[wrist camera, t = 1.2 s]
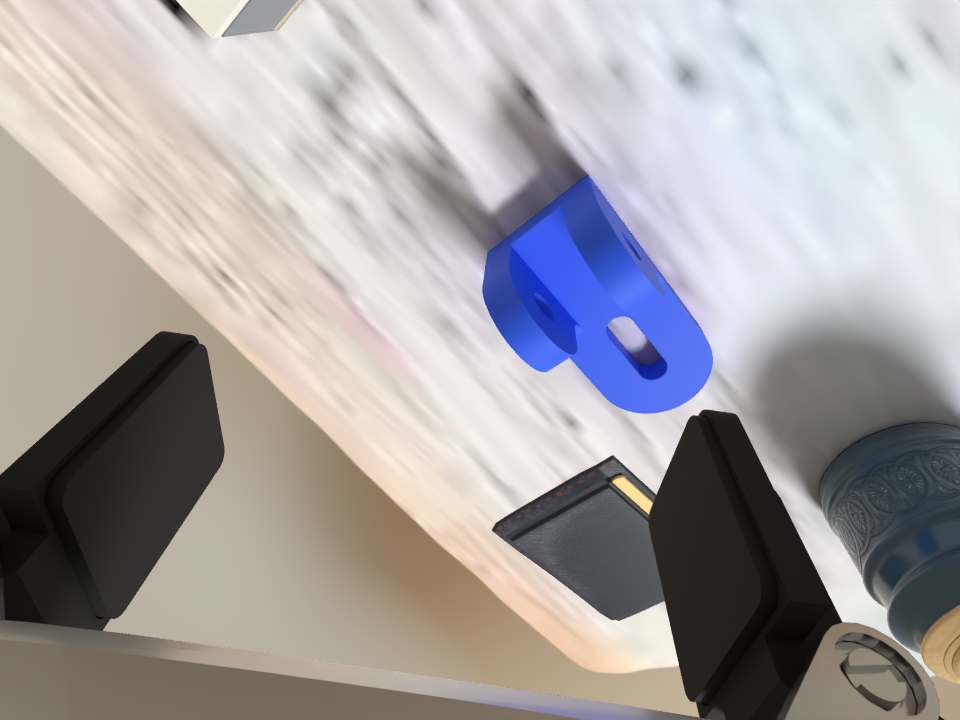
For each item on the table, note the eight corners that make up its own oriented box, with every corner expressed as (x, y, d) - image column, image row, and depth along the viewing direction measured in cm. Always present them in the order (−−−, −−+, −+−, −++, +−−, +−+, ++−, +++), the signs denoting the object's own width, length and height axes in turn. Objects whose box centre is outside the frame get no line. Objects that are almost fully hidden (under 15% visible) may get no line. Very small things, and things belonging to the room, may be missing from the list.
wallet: (486, 536, 53) (621, 461, 46) (487, 521, 54) (618, 446, 48) (611, 635, 60) (742, 581, 54) (609, 618, 61) (736, 564, 55)
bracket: (487, 251, 39) (478, 313, 31) (587, 173, 35) (604, 221, 28) (630, 413, 45) (651, 496, 38) (725, 360, 42) (769, 439, 35)
